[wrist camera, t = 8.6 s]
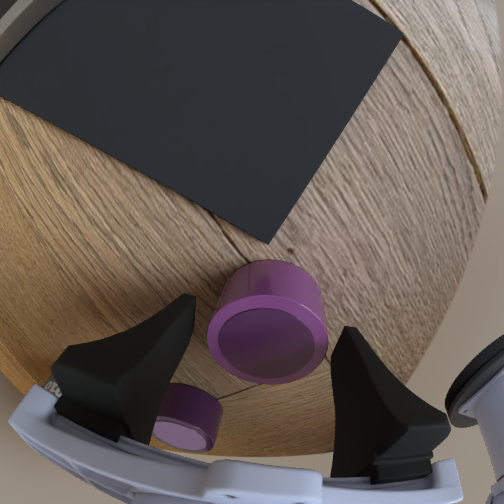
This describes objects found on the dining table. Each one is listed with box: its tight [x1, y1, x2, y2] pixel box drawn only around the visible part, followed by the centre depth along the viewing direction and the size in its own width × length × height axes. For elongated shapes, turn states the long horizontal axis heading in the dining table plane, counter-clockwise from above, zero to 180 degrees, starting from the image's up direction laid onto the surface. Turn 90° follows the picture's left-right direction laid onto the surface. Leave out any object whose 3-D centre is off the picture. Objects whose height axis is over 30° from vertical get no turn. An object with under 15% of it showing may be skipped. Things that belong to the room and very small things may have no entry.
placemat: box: [0, 0, 403, 244], centre depth 9 cm, size 28×12×1 cm, turn 60°
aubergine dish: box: [152, 384, 223, 452], centre depth 19 cm, size 5×5×3 cm
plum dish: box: [206, 260, 328, 385], centre depth 14 cm, size 5×5×3 cm
